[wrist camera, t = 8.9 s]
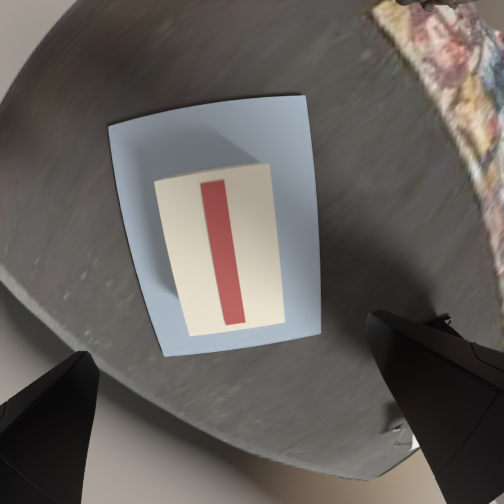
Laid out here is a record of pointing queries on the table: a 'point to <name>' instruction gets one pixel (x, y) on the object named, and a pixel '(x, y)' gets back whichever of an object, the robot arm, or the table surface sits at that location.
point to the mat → (210, 157)
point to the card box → (223, 247)
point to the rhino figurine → (434, 3)
